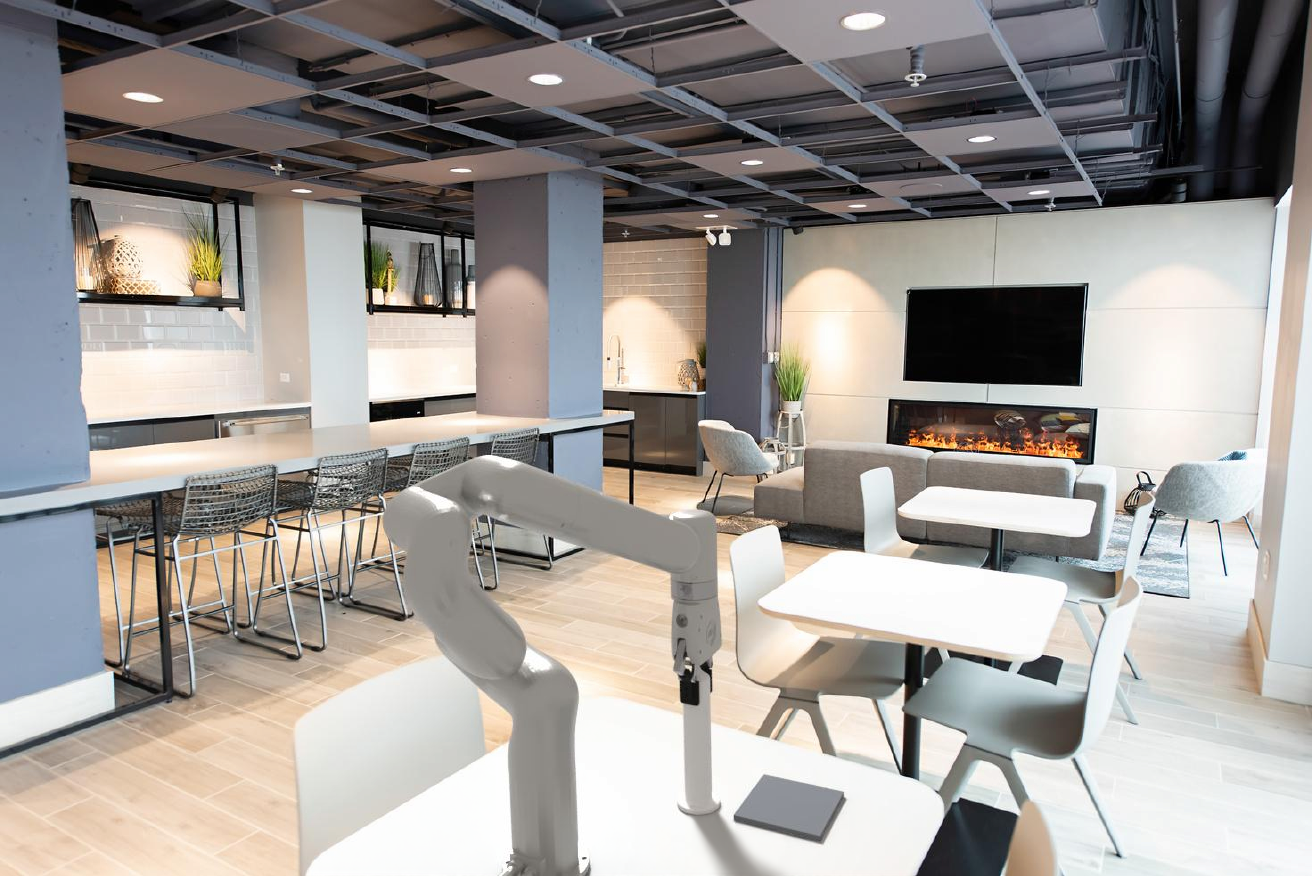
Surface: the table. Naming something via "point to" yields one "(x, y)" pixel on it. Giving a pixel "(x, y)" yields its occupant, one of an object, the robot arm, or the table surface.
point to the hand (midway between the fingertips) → (696, 696)
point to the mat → (790, 807)
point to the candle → (698, 754)
